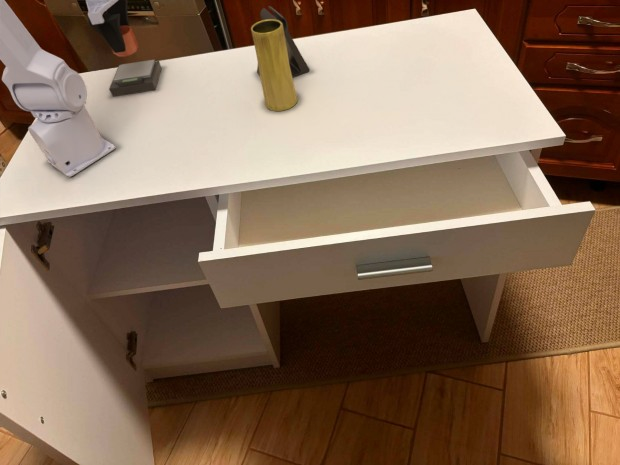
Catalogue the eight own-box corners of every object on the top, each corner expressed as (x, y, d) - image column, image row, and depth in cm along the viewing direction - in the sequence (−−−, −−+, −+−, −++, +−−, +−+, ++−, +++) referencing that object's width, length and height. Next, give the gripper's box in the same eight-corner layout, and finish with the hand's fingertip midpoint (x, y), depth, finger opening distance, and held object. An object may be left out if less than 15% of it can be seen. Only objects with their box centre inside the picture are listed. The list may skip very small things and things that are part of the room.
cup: (123, 59, 92) (114, 40, 89) (109, 53, 95) (100, 34, 92) (144, 48, 94) (136, 28, 91) (130, 42, 97) (121, 23, 94)
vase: (293, 111, 85) (279, 34, 75) (261, 111, 87) (243, 35, 76) (300, 92, 89) (288, 16, 79) (269, 93, 91) (253, 18, 80)
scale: (112, 96, 97) (107, 85, 95) (121, 74, 103) (116, 63, 102) (155, 90, 97) (151, 78, 95) (161, 68, 103) (157, 56, 101)
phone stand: (268, 86, 92) (255, 25, 84) (257, 73, 96) (243, 14, 87) (309, 71, 94) (301, 10, 85) (297, 59, 98) (288, -1, 89)
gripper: (104, -18, 78) (136, 59, 88) (121, -48, 88) (149, 25, 98) (62, -11, 79) (99, 65, 89) (84, -42, 89) (115, 30, 99)
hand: (123, 44), depth 94 cm, fingers closed on cup, 5 cm apart
